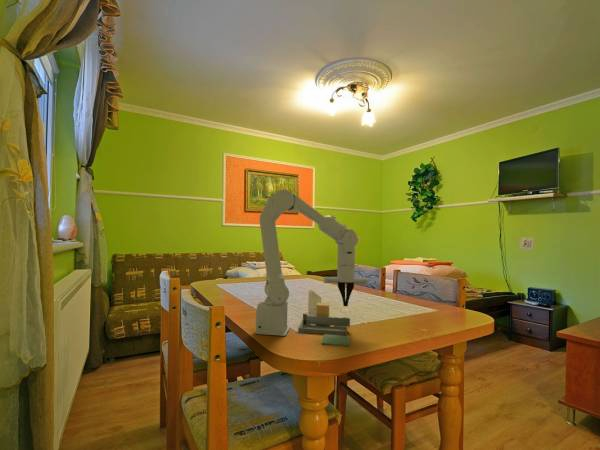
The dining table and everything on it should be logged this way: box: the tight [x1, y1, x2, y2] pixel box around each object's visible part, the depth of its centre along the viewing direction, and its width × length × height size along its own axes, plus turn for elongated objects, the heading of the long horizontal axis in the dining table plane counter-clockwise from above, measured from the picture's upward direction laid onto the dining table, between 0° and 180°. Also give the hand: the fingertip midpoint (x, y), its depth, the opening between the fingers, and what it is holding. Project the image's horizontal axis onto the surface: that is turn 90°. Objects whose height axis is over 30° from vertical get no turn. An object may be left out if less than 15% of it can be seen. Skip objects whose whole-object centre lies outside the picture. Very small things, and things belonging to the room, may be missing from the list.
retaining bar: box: [302, 313, 351, 328], centre depth 94 cm, size 15×1×3 cm, turn 81°
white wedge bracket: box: [307, 289, 322, 316], centre depth 107 cm, size 4×10×9 cm
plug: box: [314, 301, 331, 326], centre depth 99 cm, size 5×5×7 cm
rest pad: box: [321, 334, 351, 347], centre depth 84 cm, size 8×7×1 cm
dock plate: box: [297, 319, 348, 336], centre depth 96 cm, size 15×14×1 cm
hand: (345, 305), depth 97 cm, fingers closed
